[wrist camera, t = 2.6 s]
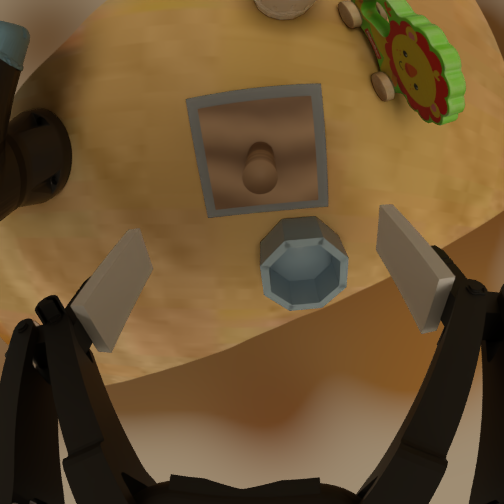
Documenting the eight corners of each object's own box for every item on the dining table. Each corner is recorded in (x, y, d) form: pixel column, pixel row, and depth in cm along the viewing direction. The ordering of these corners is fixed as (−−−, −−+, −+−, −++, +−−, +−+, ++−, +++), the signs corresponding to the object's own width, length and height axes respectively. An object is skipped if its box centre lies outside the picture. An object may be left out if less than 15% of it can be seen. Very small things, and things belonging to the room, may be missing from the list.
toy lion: (331, 6, 24) (374, -39, 11) (369, -2, 22) (425, -41, 9) (383, 117, 31) (449, 140, 18) (416, 106, 29) (491, 125, 16)
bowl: (257, 221, 39) (256, 243, 34) (338, 214, 38) (349, 235, 33) (266, 286, 45) (266, 312, 40) (336, 279, 44) (344, 305, 39)
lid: (199, 108, 31) (172, 116, 21) (309, 95, 30) (330, 97, 20) (217, 206, 38) (201, 250, 28) (316, 196, 36) (335, 238, 27)
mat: (186, 99, 31) (185, 99, 30) (319, 83, 29) (320, 83, 29) (208, 216, 39) (208, 218, 39) (327, 204, 37) (328, 206, 37)
